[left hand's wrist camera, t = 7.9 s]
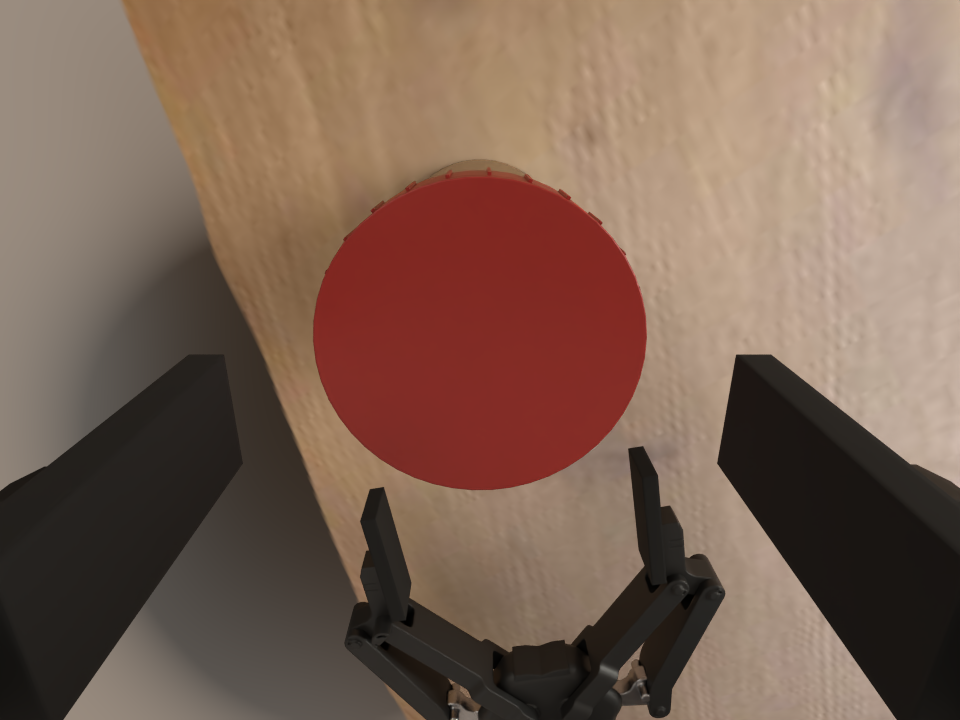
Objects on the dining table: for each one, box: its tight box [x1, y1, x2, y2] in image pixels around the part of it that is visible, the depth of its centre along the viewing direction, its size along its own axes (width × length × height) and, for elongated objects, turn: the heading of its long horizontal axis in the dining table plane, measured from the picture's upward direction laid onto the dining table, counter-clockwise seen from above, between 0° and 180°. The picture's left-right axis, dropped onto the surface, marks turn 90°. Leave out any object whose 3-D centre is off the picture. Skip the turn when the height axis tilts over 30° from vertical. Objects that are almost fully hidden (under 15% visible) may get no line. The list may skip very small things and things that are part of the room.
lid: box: [313, 167, 647, 490], centre depth 18 cm, size 10×10×2 cm
